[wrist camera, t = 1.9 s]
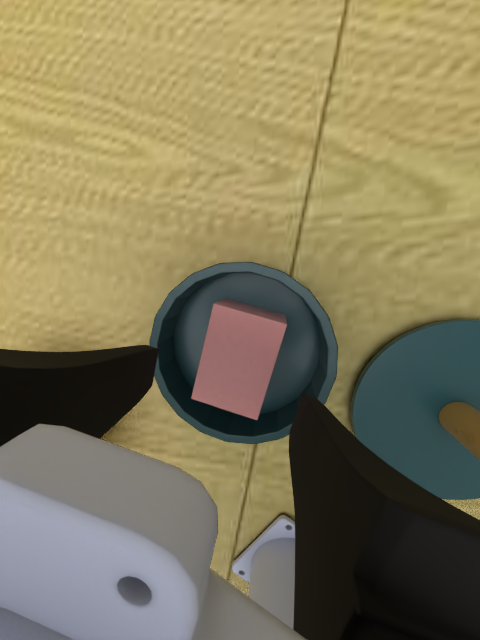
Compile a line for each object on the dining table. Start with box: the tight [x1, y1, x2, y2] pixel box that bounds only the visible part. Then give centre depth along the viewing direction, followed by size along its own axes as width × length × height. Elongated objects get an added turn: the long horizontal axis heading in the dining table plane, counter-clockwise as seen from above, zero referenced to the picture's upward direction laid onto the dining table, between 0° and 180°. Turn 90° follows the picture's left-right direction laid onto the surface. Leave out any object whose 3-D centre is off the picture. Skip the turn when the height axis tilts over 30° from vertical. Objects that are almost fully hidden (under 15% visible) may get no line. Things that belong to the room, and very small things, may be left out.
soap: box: [191, 298, 287, 420], centre depth 16 cm, size 4×6×3 cm
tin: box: [149, 262, 338, 444], centre depth 17 cm, size 12×12×3 cm
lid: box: [351, 319, 480, 500], centre depth 14 cm, size 13×13×5 cm
